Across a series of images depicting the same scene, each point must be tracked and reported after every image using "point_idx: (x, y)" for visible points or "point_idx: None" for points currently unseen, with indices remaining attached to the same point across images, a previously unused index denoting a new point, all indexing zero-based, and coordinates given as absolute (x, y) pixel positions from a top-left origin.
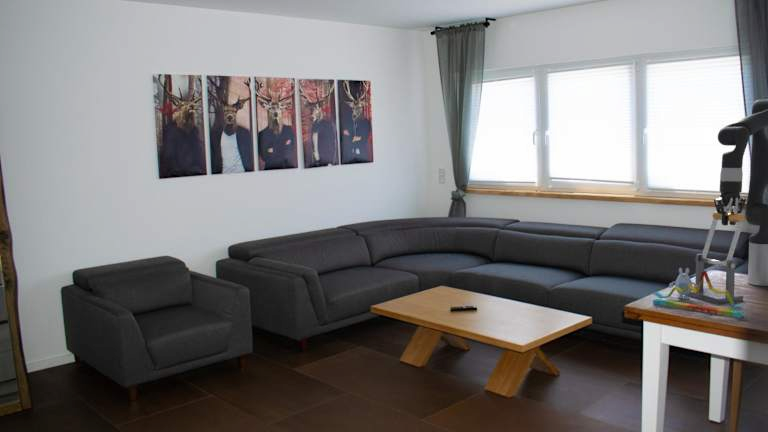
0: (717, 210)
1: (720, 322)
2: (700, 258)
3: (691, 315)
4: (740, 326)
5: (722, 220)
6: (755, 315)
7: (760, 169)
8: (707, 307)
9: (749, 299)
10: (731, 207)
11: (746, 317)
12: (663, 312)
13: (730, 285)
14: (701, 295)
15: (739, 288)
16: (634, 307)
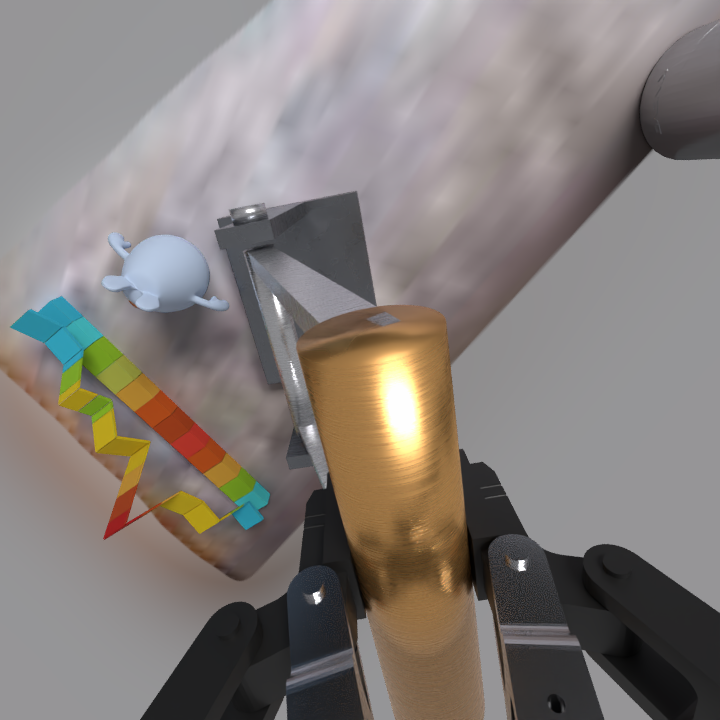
0: (181, 682)
1: (181, 522)
2: (244, 251)
3: (130, 456)
4: (213, 555)
5: (308, 532)
6: (309, 495)
7: None
8: (189, 444)
9: None
10: (508, 707)
11: (273, 504)
12: (54, 410)
13: None
14: (245, 306)
15: (525, 162)
16: None
